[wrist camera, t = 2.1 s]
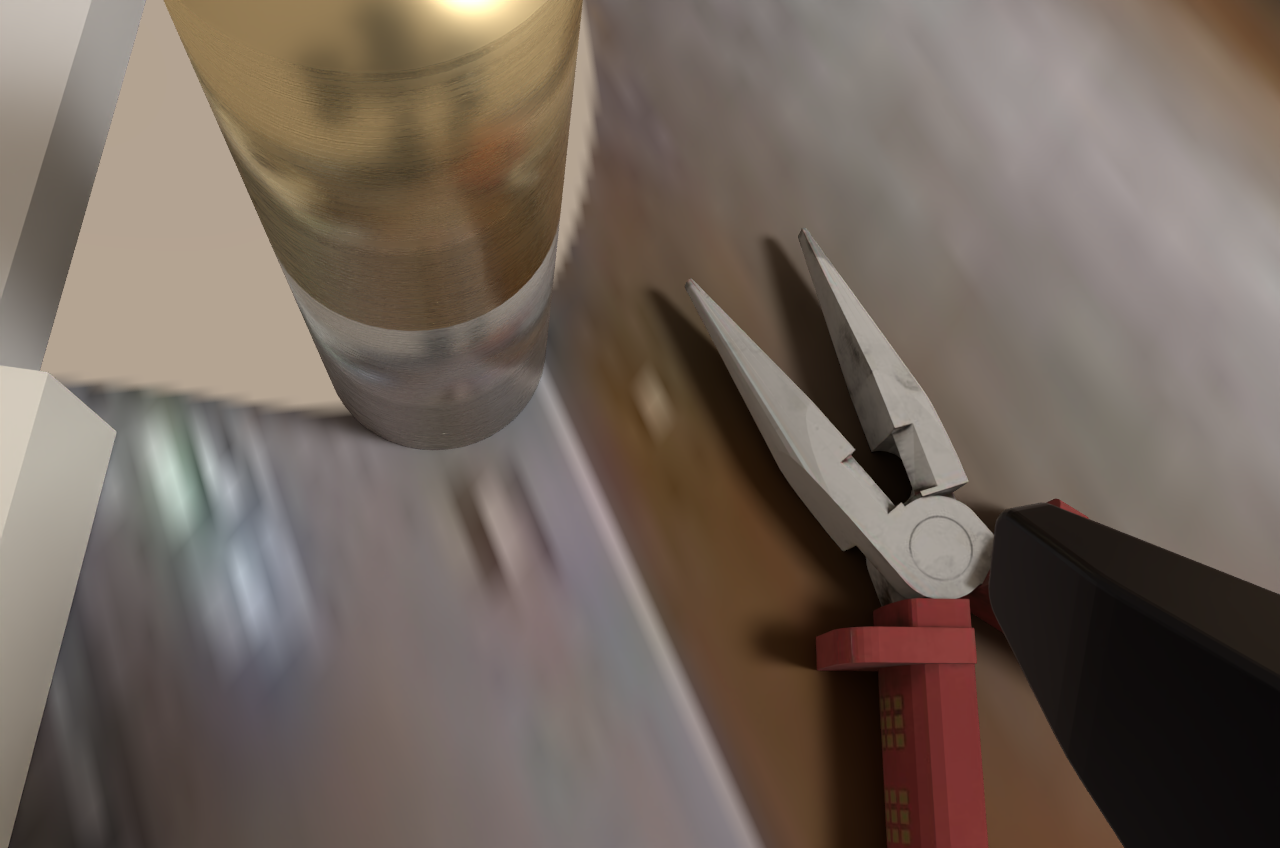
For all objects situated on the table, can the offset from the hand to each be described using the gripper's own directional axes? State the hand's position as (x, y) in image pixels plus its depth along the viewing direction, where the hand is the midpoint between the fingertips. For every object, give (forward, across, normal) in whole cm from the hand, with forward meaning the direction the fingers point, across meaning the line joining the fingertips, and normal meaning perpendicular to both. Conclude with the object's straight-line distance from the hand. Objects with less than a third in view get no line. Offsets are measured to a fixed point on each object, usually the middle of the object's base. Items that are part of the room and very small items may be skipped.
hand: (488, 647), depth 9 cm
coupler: (+14, 0, +4) cm, 15 cm away
